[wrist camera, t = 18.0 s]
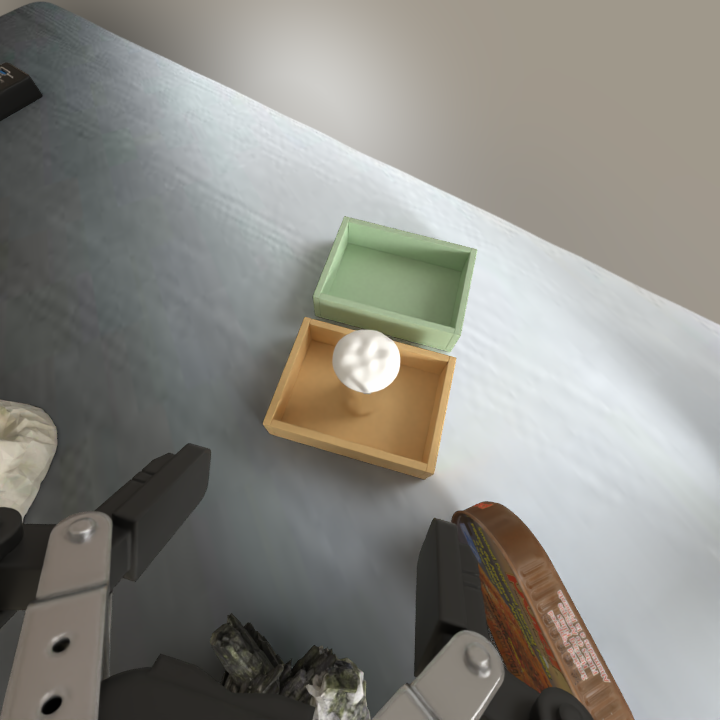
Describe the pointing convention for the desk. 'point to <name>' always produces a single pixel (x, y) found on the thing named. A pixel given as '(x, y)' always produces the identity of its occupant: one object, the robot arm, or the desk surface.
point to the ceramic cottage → (24, 453)
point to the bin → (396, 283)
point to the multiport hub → (15, 90)
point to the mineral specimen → (290, 673)
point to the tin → (535, 612)
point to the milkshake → (365, 369)
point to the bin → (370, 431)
